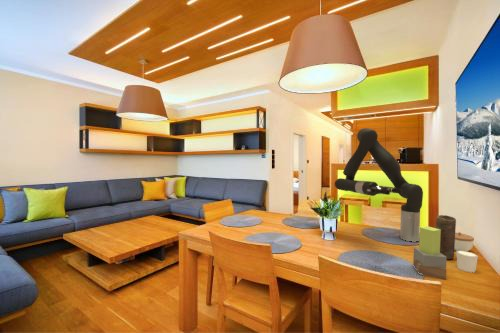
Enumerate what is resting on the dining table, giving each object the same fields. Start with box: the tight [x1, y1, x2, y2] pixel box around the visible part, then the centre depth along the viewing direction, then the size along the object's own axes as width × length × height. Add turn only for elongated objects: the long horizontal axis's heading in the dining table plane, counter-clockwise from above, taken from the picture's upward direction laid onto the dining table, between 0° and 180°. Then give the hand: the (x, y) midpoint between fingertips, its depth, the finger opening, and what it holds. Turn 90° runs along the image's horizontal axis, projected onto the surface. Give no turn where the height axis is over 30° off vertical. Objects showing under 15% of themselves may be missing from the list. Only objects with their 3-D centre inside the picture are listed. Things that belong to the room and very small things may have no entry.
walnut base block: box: [412, 255, 447, 281], centre depth 95 cm, size 9×9×4 cm
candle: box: [435, 214, 457, 260], centre depth 109 cm, size 8×7×20 cm
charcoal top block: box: [413, 247, 448, 269], centre depth 95 cm, size 8×8×4 cm
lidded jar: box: [454, 231, 475, 252], centre depth 118 cm, size 11×11×9 cm
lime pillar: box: [418, 225, 441, 255], centre depth 95 cm, size 5×5×10 cm
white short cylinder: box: [455, 251, 479, 273], centre depth 98 cm, size 7×7×7 cm
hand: (395, 192), depth 108 cm, fingers open, 8 cm apart
